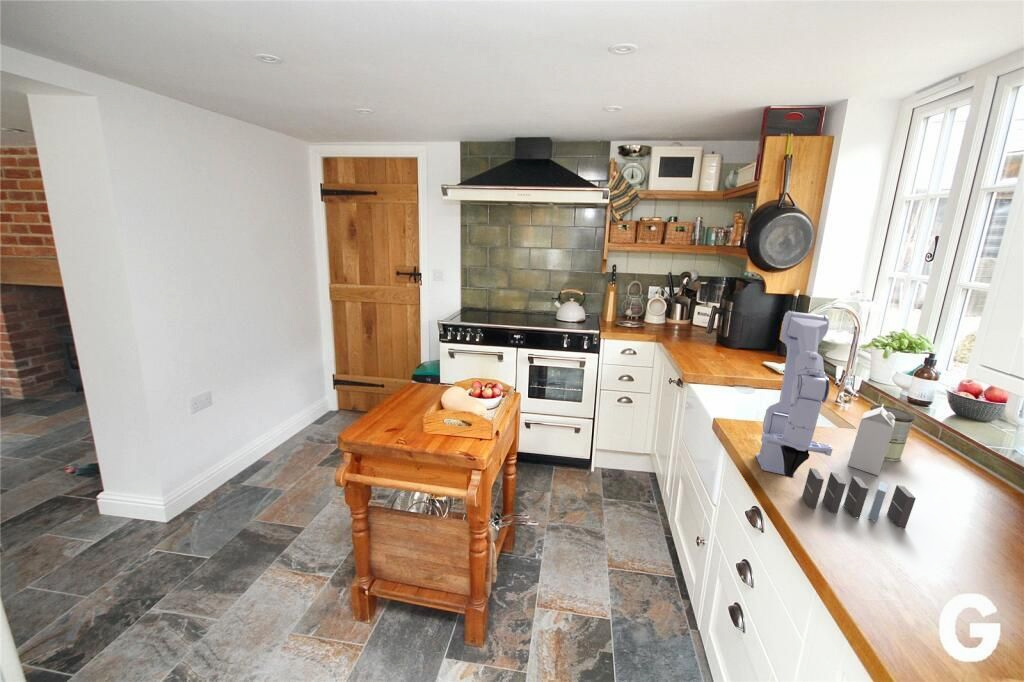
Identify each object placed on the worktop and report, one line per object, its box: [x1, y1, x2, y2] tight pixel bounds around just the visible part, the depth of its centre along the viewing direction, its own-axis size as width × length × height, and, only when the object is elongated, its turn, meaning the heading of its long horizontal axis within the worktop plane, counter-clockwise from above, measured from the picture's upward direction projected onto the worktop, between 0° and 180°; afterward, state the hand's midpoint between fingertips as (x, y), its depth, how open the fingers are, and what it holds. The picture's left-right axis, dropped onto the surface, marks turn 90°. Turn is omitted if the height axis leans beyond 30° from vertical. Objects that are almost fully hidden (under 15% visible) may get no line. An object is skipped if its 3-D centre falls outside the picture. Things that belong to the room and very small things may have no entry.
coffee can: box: [870, 404, 915, 462], centre depth 136 cm, size 10×10×14 cm
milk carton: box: [847, 403, 895, 476], centre depth 126 cm, size 7×7×19 cm
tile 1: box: [801, 467, 825, 510], centre depth 108 cm, size 2×5×8 cm, turn 163°
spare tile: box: [868, 481, 889, 522], centre depth 104 cm, size 2×5×8 cm, turn 136°
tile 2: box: [822, 472, 847, 515], centre depth 106 cm, size 2×5×8 cm, turn 163°
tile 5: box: [886, 484, 916, 529], centre depth 103 cm, size 2×5×8 cm, turn 162°
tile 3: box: [843, 475, 869, 519], centre depth 105 cm, size 2×5×8 cm, turn 162°
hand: (787, 474), depth 109 cm, fingers closed
